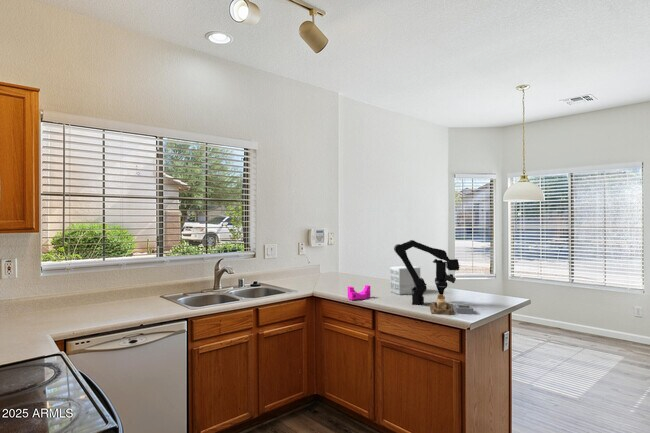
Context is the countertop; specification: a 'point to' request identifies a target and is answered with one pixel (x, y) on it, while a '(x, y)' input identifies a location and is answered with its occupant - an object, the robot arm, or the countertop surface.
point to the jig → (441, 311)
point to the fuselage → (441, 302)
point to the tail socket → (464, 309)
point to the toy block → (355, 295)
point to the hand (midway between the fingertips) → (440, 296)
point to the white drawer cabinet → (402, 280)
